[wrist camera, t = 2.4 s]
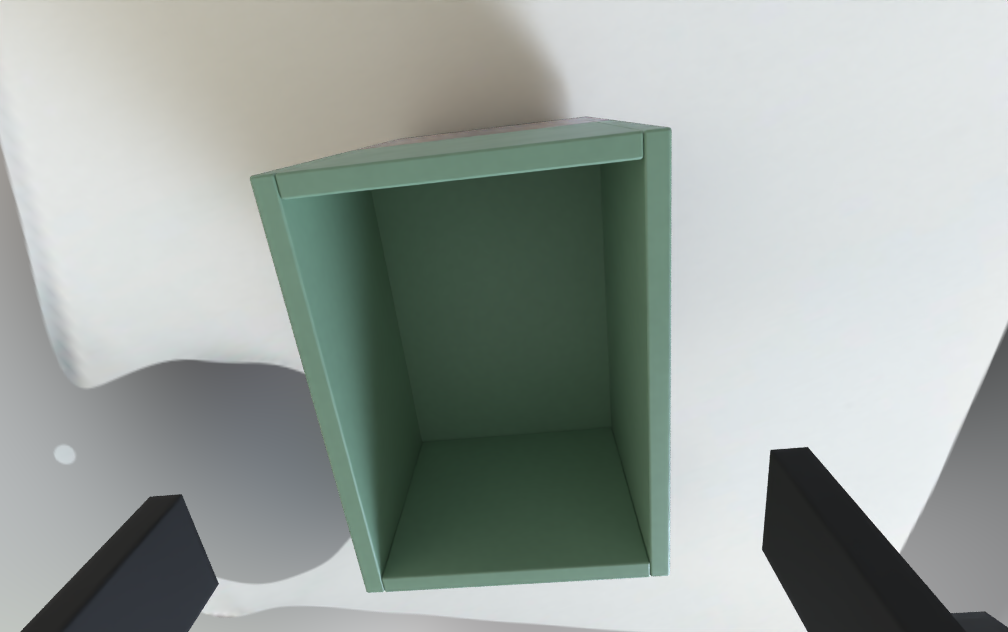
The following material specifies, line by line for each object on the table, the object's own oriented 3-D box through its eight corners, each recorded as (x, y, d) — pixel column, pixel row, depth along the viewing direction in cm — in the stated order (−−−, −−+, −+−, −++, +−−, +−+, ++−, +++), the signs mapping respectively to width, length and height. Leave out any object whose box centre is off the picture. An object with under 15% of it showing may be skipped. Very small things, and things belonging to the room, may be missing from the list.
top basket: (609, 119, 22) (672, 127, 13) (620, 419, 28) (670, 576, 18) (358, 148, 23) (247, 176, 14) (416, 435, 29) (366, 593, 19)
